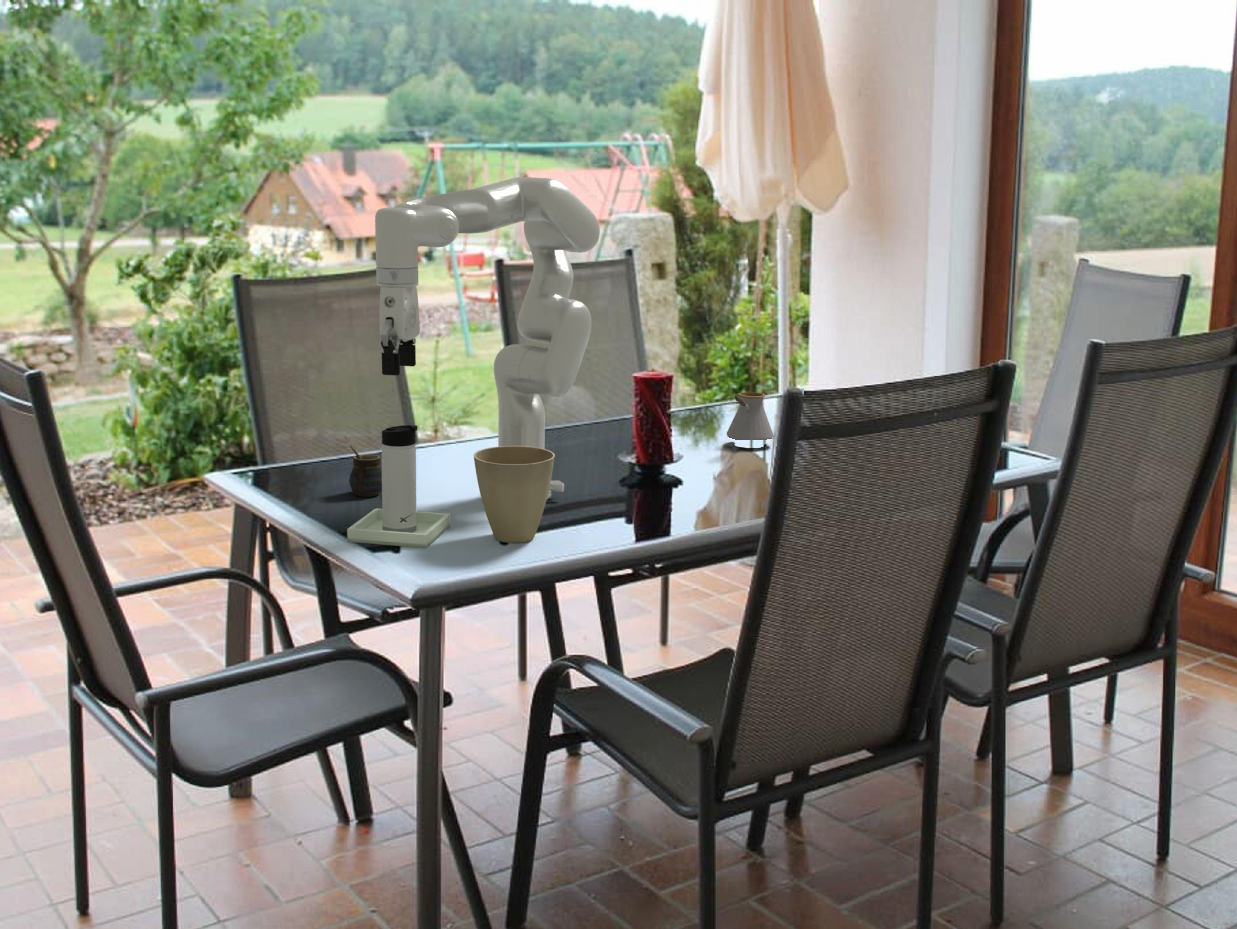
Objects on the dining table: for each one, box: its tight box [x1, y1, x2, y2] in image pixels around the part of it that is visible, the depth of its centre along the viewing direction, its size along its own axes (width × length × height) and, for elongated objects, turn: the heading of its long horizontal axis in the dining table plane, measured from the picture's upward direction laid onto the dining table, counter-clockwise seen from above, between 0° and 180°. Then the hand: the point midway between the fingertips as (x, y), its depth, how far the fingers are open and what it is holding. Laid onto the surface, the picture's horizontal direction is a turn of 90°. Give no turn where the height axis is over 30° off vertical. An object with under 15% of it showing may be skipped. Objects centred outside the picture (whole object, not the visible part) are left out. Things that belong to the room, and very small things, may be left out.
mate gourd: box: [348, 445, 382, 498], centre depth 287 cm, size 7×8×10 cm
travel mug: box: [381, 424, 418, 533], centre depth 258 cm, size 6×7×20 cm
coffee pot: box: [726, 391, 774, 440], centre depth 337 cm, size 21×12×15 cm, turn 159°
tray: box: [346, 508, 452, 549], centre depth 260 cm, size 15×15×2 cm
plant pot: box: [473, 446, 556, 544], centre depth 258 cm, size 15×15×16 cm
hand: (399, 370), depth 257 cm, fingers open, 9 cm apart
